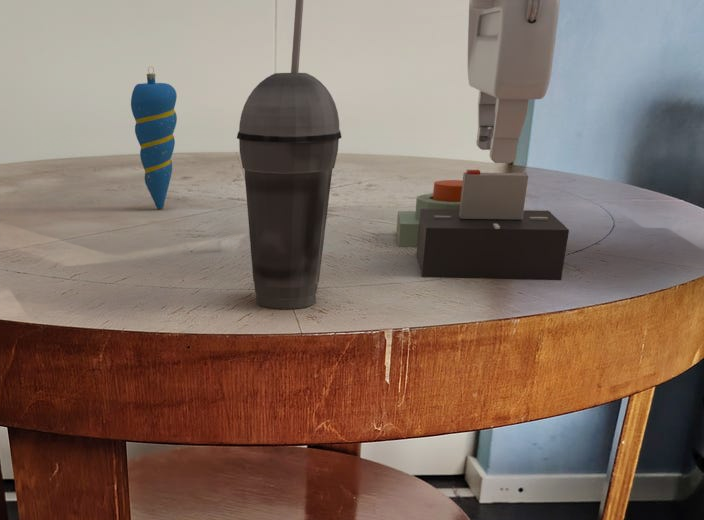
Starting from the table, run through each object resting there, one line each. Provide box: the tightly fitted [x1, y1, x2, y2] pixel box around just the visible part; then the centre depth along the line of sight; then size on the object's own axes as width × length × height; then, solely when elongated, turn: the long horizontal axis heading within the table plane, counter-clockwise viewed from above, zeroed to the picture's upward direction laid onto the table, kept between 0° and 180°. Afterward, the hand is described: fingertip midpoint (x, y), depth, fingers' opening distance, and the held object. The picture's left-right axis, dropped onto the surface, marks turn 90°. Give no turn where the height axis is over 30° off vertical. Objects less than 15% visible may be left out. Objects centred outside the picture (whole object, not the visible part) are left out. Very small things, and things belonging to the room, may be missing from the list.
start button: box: [432, 179, 463, 202], centre depth 85 cm, size 4×4×2 cm
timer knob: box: [459, 169, 529, 220], centre depth 74 cm, size 5×1×4 cm, turn 82°
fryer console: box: [416, 209, 570, 281], centre depth 76 cm, size 11×9×4 cm
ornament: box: [130, 66, 178, 210], centre depth 102 cm, size 5×5×15 cm
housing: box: [396, 192, 460, 248], centre depth 86 cm, size 10×7×4 cm
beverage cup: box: [236, 0, 342, 310], centre depth 63 cm, size 7×7×20 cm
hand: (493, 155), depth 73 cm, fingers open, 8 cm apart
